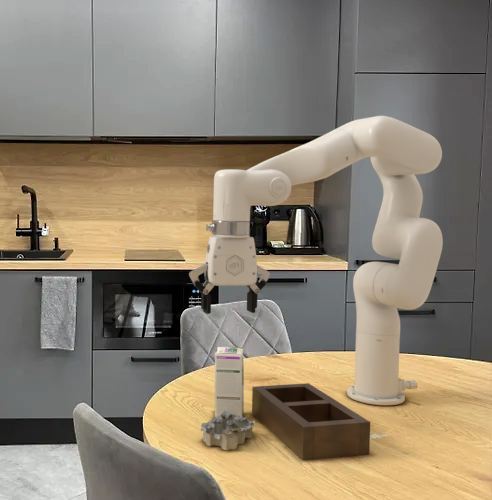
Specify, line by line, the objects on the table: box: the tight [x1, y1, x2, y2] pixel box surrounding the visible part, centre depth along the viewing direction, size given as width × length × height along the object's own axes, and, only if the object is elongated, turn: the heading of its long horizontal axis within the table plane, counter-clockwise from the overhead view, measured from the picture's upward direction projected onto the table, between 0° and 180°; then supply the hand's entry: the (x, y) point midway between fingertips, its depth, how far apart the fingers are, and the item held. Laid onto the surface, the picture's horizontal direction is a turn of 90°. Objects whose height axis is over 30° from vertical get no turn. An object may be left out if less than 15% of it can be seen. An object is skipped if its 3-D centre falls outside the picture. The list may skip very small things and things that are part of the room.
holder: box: [251, 382, 371, 461], centre depth 122 cm, size 13×24×6 cm, turn 12°
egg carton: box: [200, 410, 256, 451], centre depth 118 cm, size 11×8×4 cm
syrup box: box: [214, 346, 245, 418], centre depth 130 cm, size 6×6×14 cm
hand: (229, 312), depth 128 cm, fingers open, 9 cm apart
